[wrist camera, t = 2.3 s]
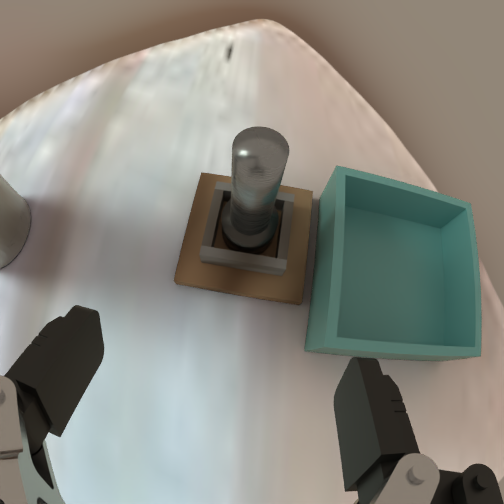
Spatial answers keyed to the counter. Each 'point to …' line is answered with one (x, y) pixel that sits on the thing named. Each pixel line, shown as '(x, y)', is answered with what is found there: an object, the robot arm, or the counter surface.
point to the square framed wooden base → (238, 263)
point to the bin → (394, 272)
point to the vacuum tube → (254, 190)
